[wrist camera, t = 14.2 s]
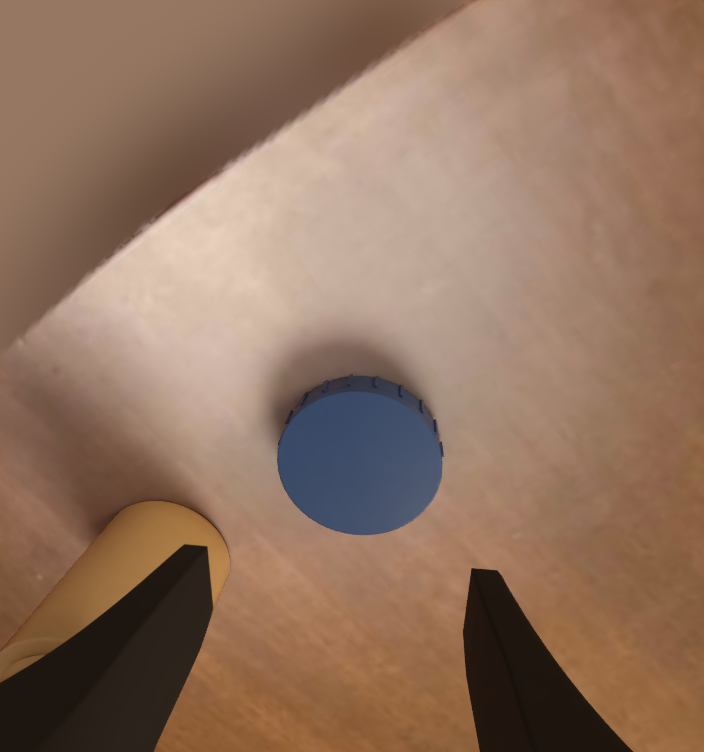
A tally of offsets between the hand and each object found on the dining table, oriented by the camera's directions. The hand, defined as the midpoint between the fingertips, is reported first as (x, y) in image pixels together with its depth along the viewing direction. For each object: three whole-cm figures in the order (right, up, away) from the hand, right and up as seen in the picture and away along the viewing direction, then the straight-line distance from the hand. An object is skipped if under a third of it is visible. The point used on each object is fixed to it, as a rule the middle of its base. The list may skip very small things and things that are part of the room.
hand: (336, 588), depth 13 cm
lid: (+1, +2, +6) cm, 6 cm away
